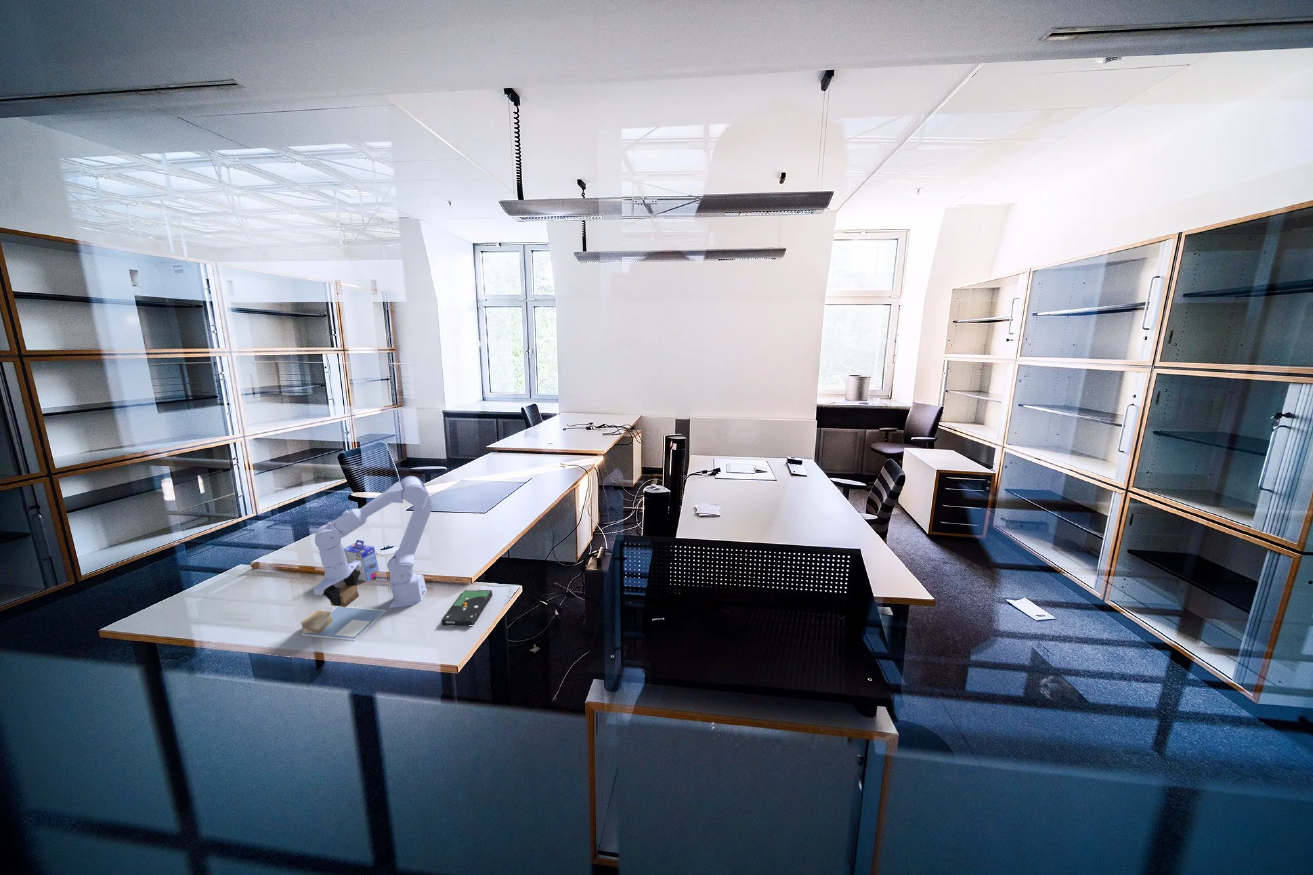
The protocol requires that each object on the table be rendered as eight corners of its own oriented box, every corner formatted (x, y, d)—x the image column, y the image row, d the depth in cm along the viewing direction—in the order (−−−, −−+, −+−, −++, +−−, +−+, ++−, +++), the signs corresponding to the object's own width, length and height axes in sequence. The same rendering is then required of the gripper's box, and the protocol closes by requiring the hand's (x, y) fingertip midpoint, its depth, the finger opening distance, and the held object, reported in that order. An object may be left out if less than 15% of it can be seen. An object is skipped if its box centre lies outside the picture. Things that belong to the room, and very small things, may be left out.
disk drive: (474, 628, 126) (493, 595, 140) (472, 620, 125) (492, 589, 139) (441, 627, 126) (464, 595, 140) (440, 620, 125) (463, 588, 139)
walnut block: (359, 596, 128) (356, 585, 127) (345, 607, 123) (342, 596, 122) (345, 594, 128) (342, 584, 127) (331, 605, 124) (328, 594, 122)
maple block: (333, 621, 127) (330, 611, 125) (319, 633, 122) (316, 623, 121) (317, 620, 127) (314, 610, 125) (304, 632, 122) (300, 622, 121)
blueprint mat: (387, 611, 132) (386, 609, 131) (354, 642, 119) (354, 640, 119) (338, 607, 134) (337, 605, 133) (301, 636, 121) (300, 635, 121)
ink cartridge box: (381, 574, 151) (373, 540, 146) (367, 583, 146) (359, 549, 141) (361, 569, 153) (353, 536, 149) (347, 578, 148) (338, 544, 144)
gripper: (343, 547, 129) (353, 582, 133) (300, 575, 115) (312, 613, 119) (363, 549, 128) (372, 584, 132) (321, 577, 114) (333, 616, 118)
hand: (345, 598), depth 125 cm, fingers closed on walnut block, 5 cm apart
